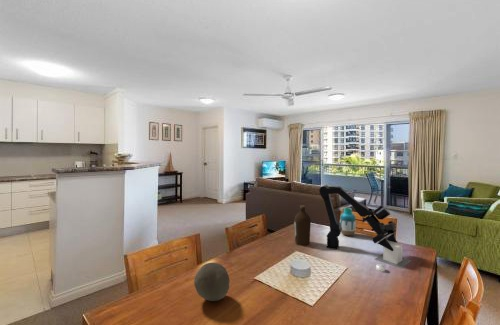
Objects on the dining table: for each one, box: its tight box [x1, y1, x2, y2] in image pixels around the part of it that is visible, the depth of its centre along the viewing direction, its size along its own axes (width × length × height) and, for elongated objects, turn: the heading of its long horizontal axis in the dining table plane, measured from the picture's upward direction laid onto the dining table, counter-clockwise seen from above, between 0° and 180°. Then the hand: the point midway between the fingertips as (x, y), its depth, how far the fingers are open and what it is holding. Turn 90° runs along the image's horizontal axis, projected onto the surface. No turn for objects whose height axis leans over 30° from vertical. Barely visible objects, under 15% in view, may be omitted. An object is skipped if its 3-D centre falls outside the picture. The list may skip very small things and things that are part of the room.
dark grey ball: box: [193, 262, 231, 302], centre depth 103 cm, size 14×14×15 cm
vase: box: [339, 207, 357, 236], centre depth 179 cm, size 11×11×19 cm
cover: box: [382, 241, 404, 264], centre depth 138 cm, size 7×7×9 cm
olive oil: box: [293, 205, 312, 247], centre depth 164 cm, size 11×11×25 cm
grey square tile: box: [374, 253, 412, 269], centre depth 138 cm, size 14×14×1 cm
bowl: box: [375, 263, 386, 273], centre depth 127 cm, size 4×4×3 cm
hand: (395, 248), depth 137 cm, fingers closed on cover, 7 cm apart
